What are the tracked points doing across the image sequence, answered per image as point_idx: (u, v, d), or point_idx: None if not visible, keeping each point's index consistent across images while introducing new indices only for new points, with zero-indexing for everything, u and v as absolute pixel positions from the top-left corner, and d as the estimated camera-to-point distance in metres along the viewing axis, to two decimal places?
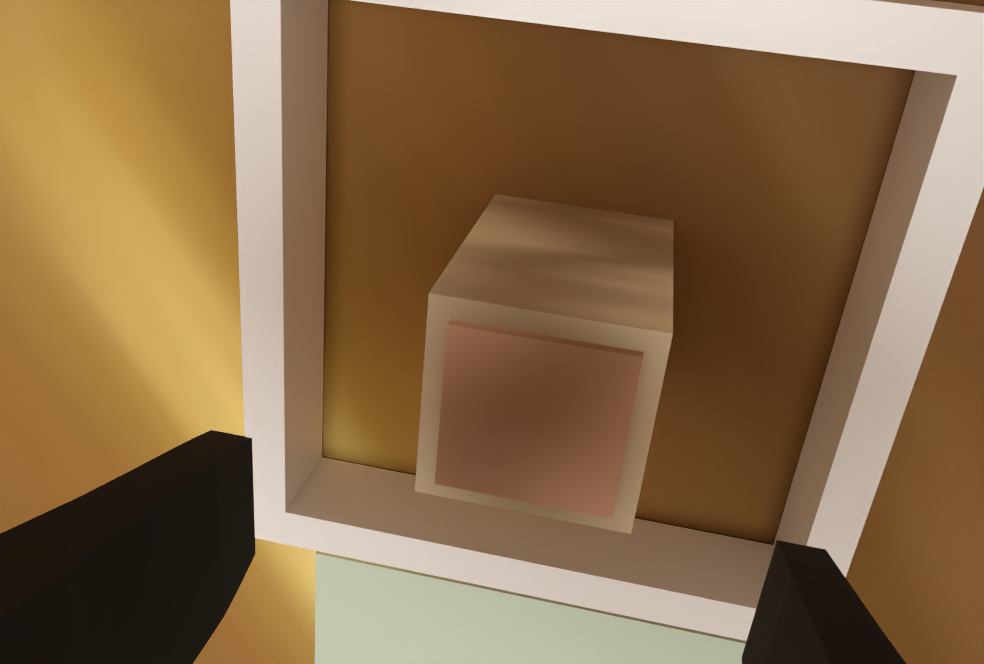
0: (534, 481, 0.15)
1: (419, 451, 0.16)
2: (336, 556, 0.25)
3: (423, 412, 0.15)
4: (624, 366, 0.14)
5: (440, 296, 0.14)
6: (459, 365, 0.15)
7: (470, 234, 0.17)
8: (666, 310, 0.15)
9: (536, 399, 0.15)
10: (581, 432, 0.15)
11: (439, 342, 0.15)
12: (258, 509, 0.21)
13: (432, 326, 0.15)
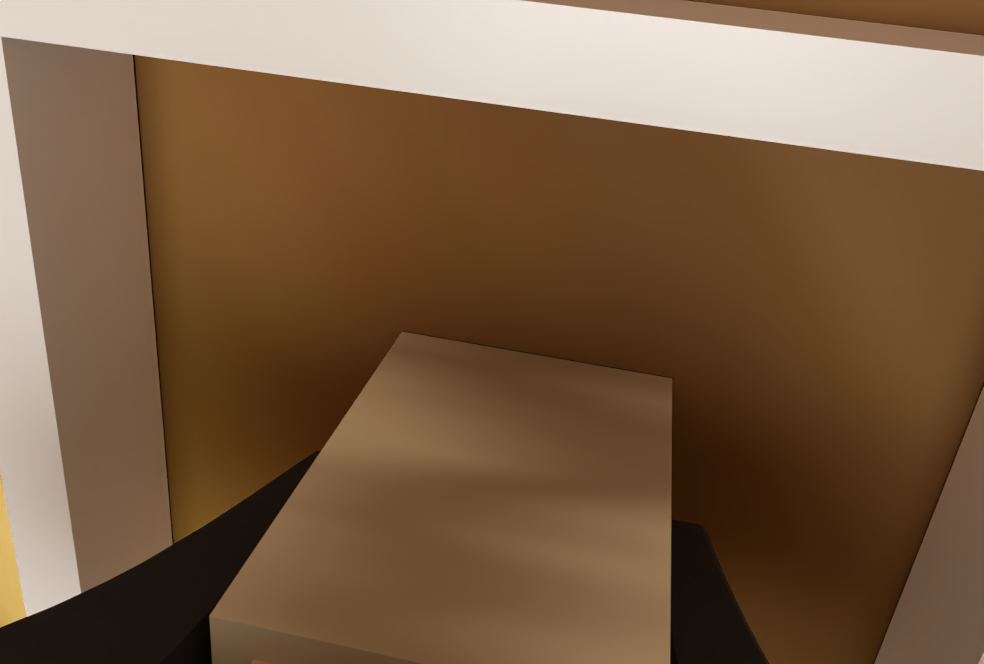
0: None
1: None
2: None
3: None
4: None
5: (231, 622, 0.08)
6: None
7: (336, 433, 0.10)
8: (658, 635, 0.08)
9: None
10: None
11: None
12: None
13: None
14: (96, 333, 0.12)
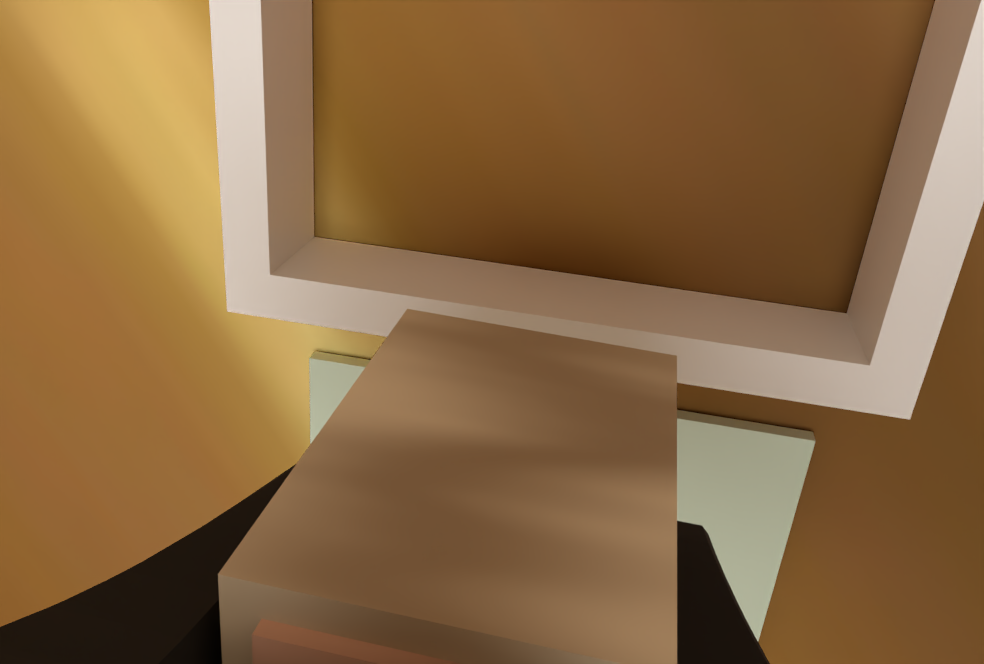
0: None
1: None
2: (333, 361, 0.21)
3: None
4: None
5: (239, 580, 0.08)
6: None
7: (342, 404, 0.10)
8: (664, 597, 0.08)
9: None
10: None
11: (245, 651, 0.08)
12: (238, 273, 0.18)
13: (230, 626, 0.08)
14: None
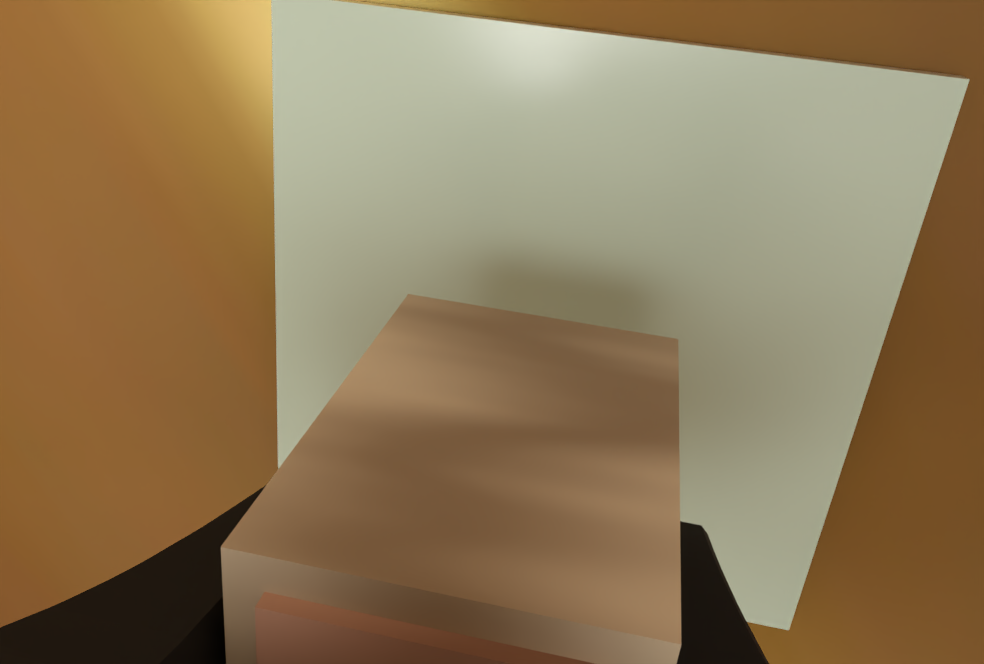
0: None
1: None
2: None
3: None
4: None
5: (242, 553, 0.08)
6: None
7: (344, 384, 0.10)
8: (668, 569, 0.08)
9: None
10: None
11: (249, 626, 0.08)
12: None
13: (233, 600, 0.08)
14: None
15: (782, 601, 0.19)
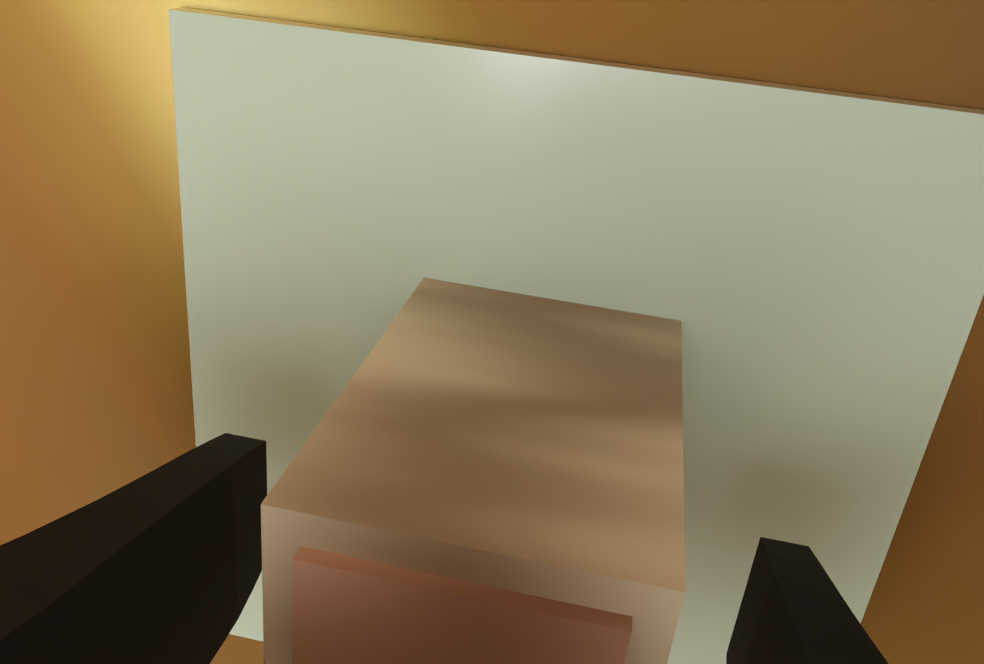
0: None
1: None
2: (208, 14, 0.13)
3: None
4: (598, 645, 0.08)
5: (280, 510, 0.08)
6: (316, 622, 0.08)
7: (367, 360, 0.11)
8: (672, 527, 0.09)
9: None
10: None
11: (285, 579, 0.09)
12: None
13: (270, 555, 0.08)
14: None
15: None
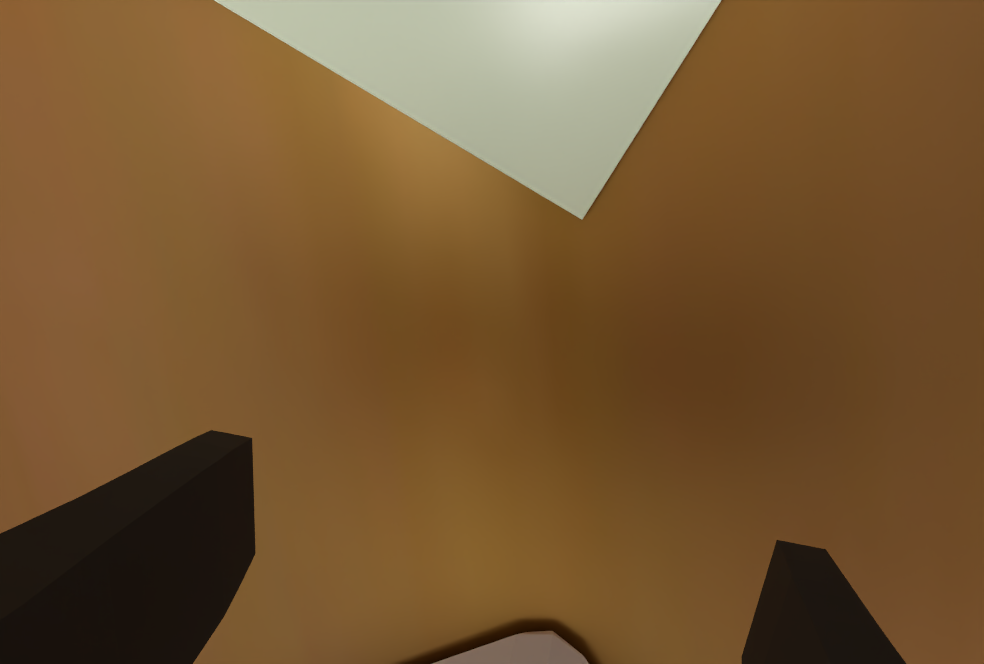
0: None
1: None
2: None
3: None
4: None
5: None
6: None
7: None
8: None
9: None
10: None
11: None
12: None
13: None
14: None
15: (587, 183, 0.19)
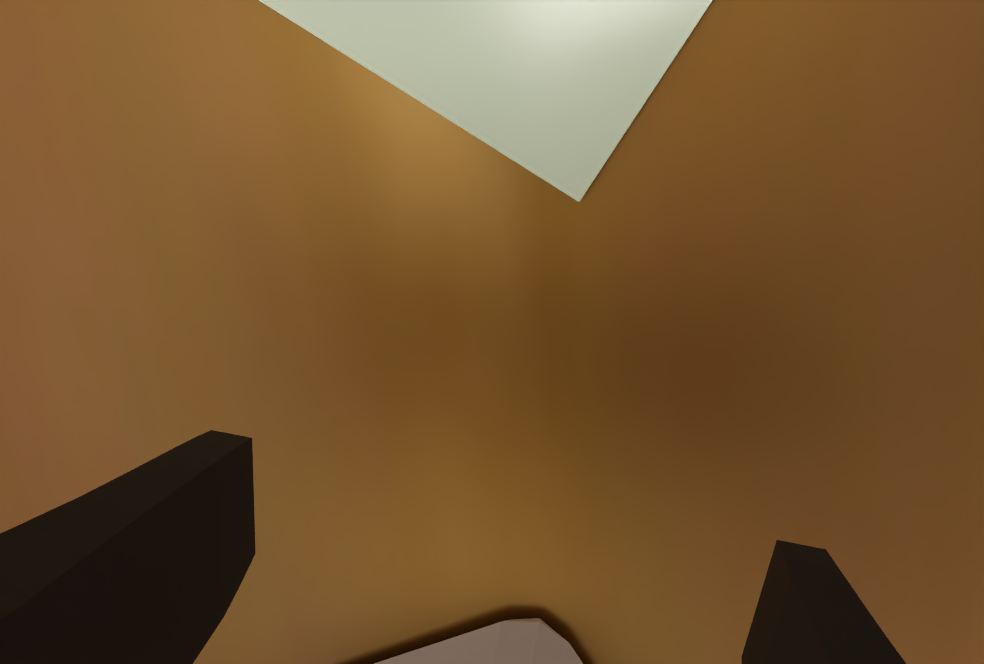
0: None
1: None
2: None
3: None
4: None
5: None
6: None
7: None
8: None
9: None
10: None
11: None
12: None
13: None
14: None
15: (585, 165, 0.19)
